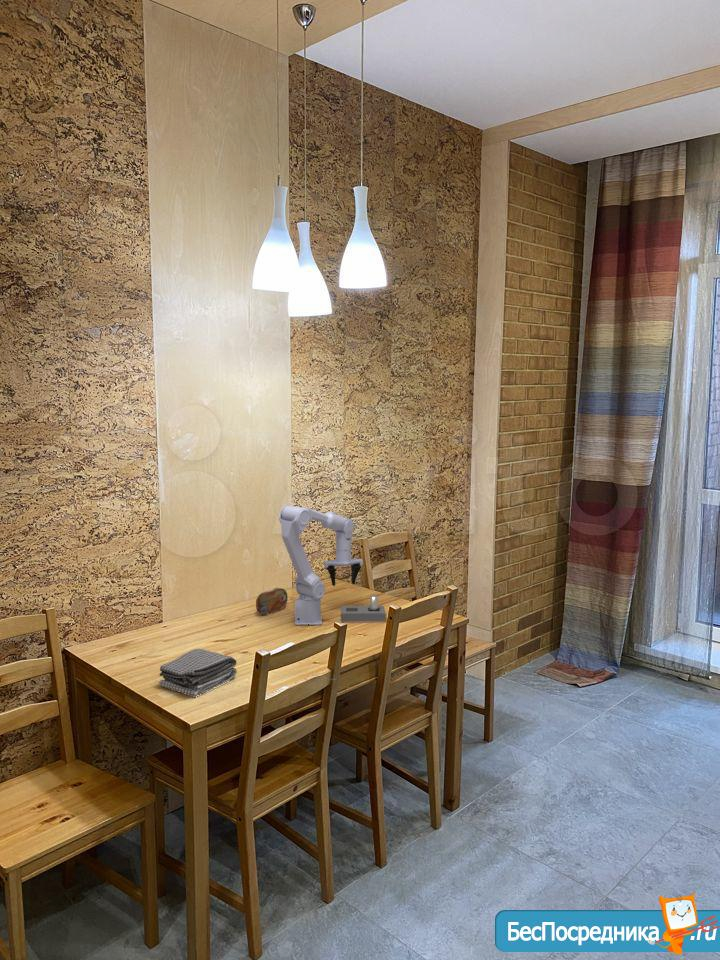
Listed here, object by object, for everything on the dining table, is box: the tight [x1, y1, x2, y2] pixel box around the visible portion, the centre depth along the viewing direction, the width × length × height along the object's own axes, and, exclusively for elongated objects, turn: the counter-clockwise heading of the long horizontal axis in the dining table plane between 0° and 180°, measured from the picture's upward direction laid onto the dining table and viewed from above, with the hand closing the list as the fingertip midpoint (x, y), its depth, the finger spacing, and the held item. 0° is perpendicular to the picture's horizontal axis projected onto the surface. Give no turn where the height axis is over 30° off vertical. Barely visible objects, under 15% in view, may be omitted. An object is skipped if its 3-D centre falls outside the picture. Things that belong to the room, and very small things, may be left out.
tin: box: [255, 587, 289, 616], centre depth 284 cm, size 15×3×8 cm, turn 143°
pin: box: [369, 594, 379, 611], centre depth 276 cm, size 3×3×8 cm
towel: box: [158, 648, 238, 698], centre depth 219 cm, size 15×18×8 cm
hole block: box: [340, 605, 387, 624], centre depth 276 cm, size 16×9×4 cm, turn 92°
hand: (343, 584), depth 284 cm, fingers open, 7 cm apart
